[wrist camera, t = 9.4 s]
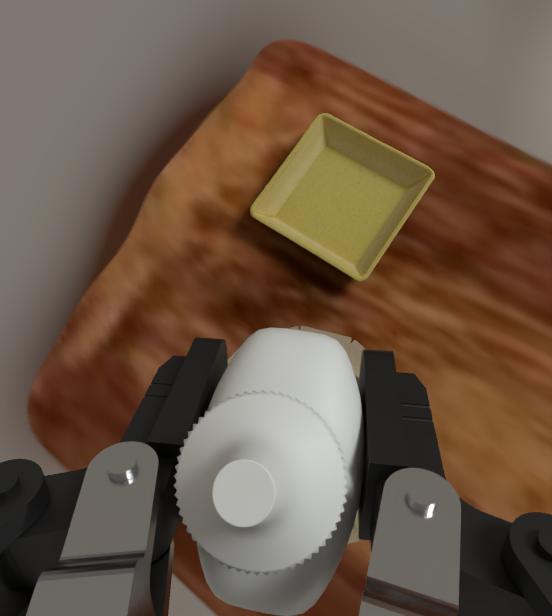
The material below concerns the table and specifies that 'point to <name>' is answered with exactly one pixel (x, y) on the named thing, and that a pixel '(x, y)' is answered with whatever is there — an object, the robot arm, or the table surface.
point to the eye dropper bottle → (275, 472)
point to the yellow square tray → (342, 195)
